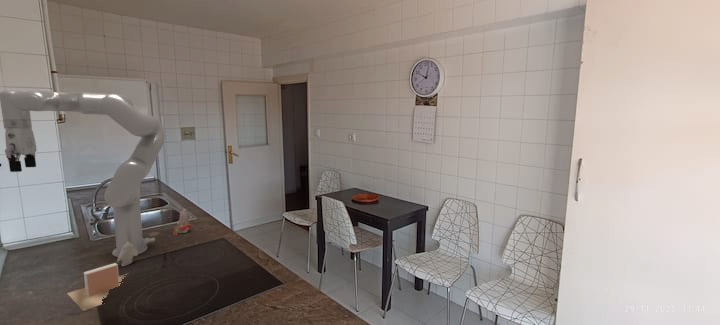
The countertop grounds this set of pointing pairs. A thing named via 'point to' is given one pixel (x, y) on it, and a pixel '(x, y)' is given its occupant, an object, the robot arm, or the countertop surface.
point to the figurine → (182, 223)
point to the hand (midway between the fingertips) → (23, 169)
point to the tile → (101, 279)
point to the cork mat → (91, 301)
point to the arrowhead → (127, 254)
